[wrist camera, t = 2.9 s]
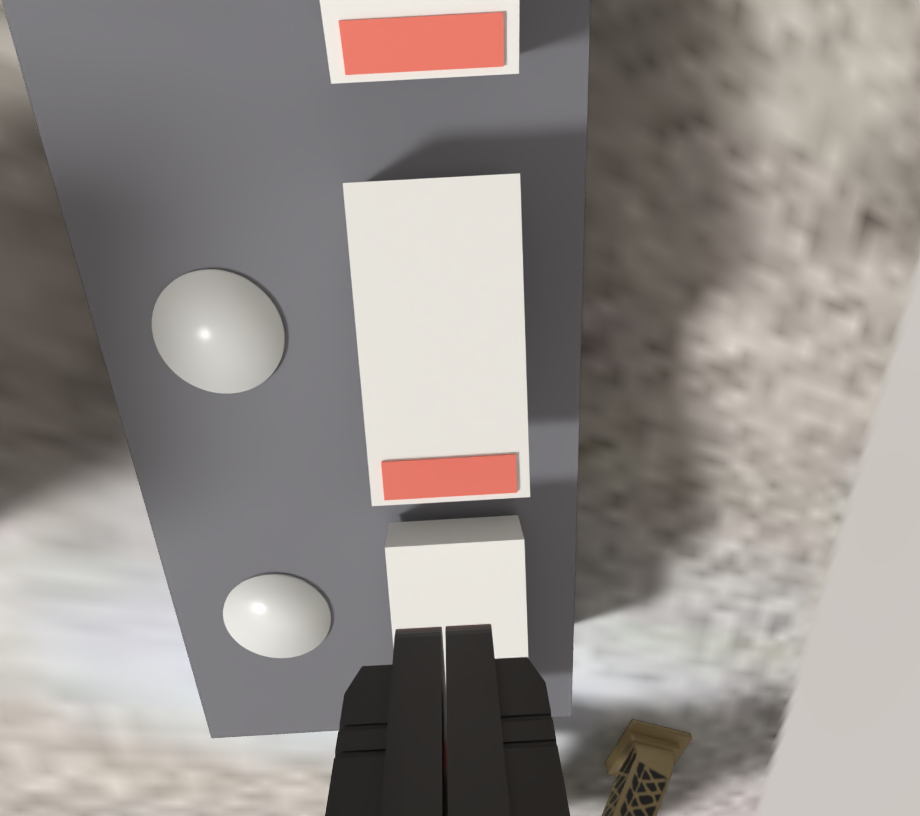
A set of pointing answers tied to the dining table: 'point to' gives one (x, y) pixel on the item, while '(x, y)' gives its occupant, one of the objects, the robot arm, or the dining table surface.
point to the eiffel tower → (642, 768)
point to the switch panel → (295, 314)
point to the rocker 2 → (440, 336)
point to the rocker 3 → (460, 578)
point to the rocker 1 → (420, 39)
